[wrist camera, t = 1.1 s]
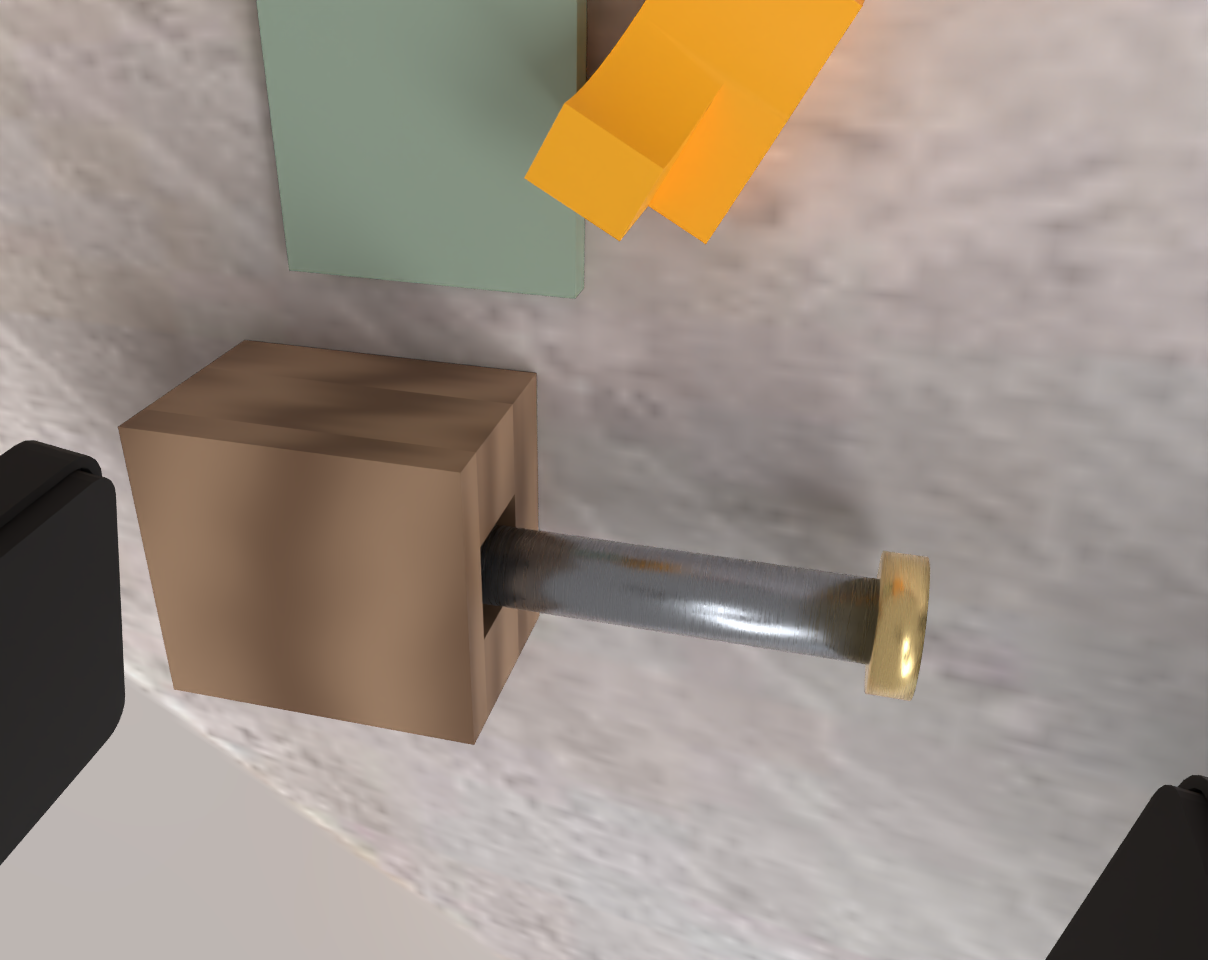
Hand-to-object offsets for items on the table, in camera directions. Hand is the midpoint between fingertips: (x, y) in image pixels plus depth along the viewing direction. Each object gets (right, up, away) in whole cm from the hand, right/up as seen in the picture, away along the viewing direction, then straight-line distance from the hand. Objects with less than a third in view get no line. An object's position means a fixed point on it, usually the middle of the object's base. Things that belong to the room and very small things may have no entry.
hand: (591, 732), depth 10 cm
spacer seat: (-5, +15, +20) cm, 26 cm away
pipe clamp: (+5, +15, +18) cm, 24 cm away
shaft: (+2, 0, +24) cm, 24 cm away
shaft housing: (-7, +2, +28) cm, 29 cm away
